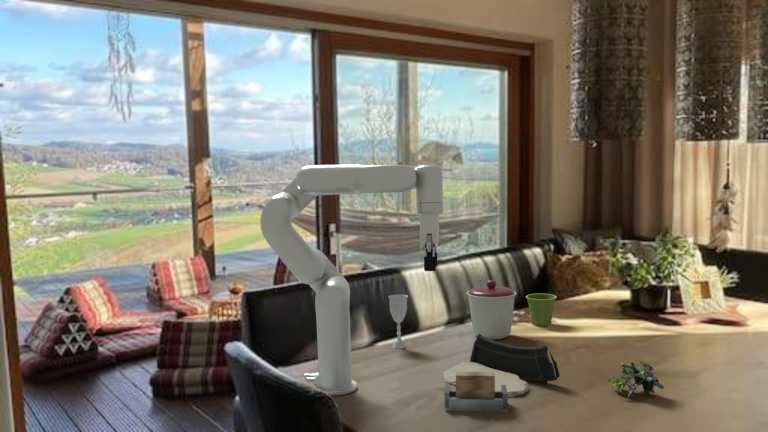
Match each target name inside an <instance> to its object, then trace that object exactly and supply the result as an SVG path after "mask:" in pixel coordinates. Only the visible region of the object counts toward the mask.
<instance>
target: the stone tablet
mask: <svg viewBox="0 0 768 432" xmlns="http://www.w3.org/2000/svg"><path fill="white" fill-rule="evenodd" d="M456 372H494V375H495V391H501V385H506V389H507V397H508V398H511V397H517V396H521V395H524V394H525V393H526V392H529V385H528V382H527V381H526V380H524V379H519V377H518V376H517V375H515V374H512V373H507V372H503V371H499V370H495V369H492V368H489V367H486V366H484V365H482V364H479V363H474V362H470V361H463V362H460V363H458V364H456V365H453V367H451V368H449V369H447V370H446V371H443V372H442V375H443V380H444V382H445V383H446V384H450V386H455V387H456Z"/></svg>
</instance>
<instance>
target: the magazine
mask: <svg viewBox="0 0 768 432" xmlns="http://www.w3.org/2000/svg"><path fill="white" fill-rule="evenodd" d="M469 362H474V363H479V364H482V365H484V366H486V367H489V368H492V369H495V370H499V371H503V372H507V373H512V374H515V375H517V376H518V377H519V379H521V380H524V381H533V382H543V383H544V385H548V382H555V381H558V378H559V377H560V371H559V367H558V363H557V361H556V360H555V359H554V357H553V355H552V353H551V352H550V350H549V348H548V346H547V345H542V346H541V347H540V346H536V347H529V346H527V347H525V346H517V345H511V344H507V343H503V342H501V341H500V342H499V341H496V340H490V339H488V338H486V337H484V336H482V335H481V334H478V335H477V336H476V339H475V341H474V342H473V347H472V351H471V355H470V359H469Z"/></svg>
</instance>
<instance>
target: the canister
mask: <svg viewBox="0 0 768 432" xmlns="http://www.w3.org/2000/svg"><path fill="white" fill-rule="evenodd" d="M466 295H467V296H468V303H469V310H470V318H471V324H472V326H471V327H472V330H473V333H474V335H475V336H476V337H477V335H478V334H481V335H482V336H484V337H486V338H488V339H490V340H493V341H496V340H503V339H505V338H507V337H509V335H510V334H511V332H512V327H513V326H512V324H513V316H514V307H515V297H516V295H517V292H516V290H513V289H512V288H511V287H510V288H509V287H506V286H499V285H497V282H496V281H495V280H493V279H491V280H490V279H489V280H487V281H486V284H485V285H482V286H480V285H479V286H475V287H472V288H471V289H469V290H468V291H466Z"/></svg>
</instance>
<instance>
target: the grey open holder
mask: <svg viewBox="0 0 768 432" xmlns="http://www.w3.org/2000/svg"><path fill="white" fill-rule="evenodd" d="M508 398H509V397H507V389H506V385H501V391H495V398H459V397H456V389H451V384H449V383H445V388H444V411H445V412H472V413H473V412H477V413H478V412H479V413H481V412H483V413H484V412H485V413H508V412H509V410H508V409H509V408H508V406H509V405H508Z"/></svg>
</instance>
